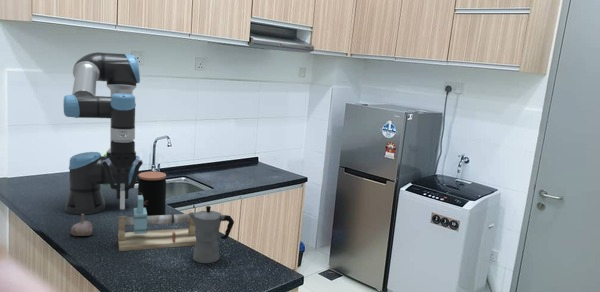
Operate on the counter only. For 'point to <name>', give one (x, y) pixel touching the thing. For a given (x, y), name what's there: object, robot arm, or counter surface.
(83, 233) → the garlic bulb
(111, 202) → the counter surface
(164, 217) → the pipe stand
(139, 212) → the collar
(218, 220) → the coffeepot
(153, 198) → the coffee jar
